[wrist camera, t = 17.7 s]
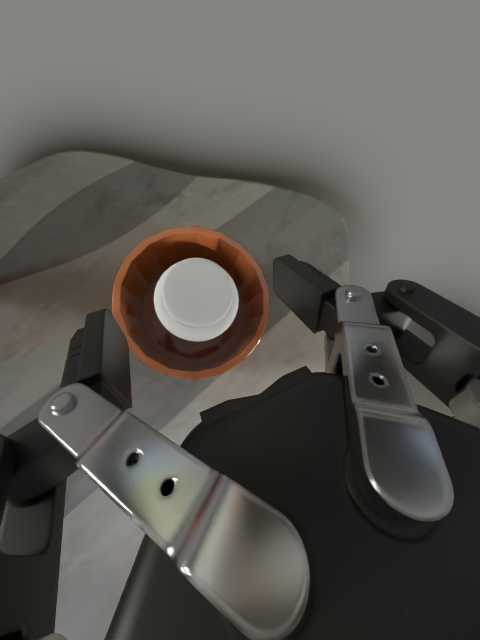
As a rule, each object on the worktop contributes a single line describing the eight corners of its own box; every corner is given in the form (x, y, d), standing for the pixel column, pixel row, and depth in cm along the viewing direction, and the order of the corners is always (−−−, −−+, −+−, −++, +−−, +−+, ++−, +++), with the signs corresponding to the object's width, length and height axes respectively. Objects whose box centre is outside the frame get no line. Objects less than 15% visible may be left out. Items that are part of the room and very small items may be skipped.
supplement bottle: (163, 289, 22) (138, 245, 12) (219, 283, 23) (239, 239, 13) (171, 346, 22) (152, 349, 12) (227, 336, 23) (254, 332, 13)
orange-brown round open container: (159, 385, 21) (144, 405, 15) (121, 276, 22) (89, 246, 15) (262, 345, 24) (289, 346, 17) (226, 248, 24) (240, 211, 17)
